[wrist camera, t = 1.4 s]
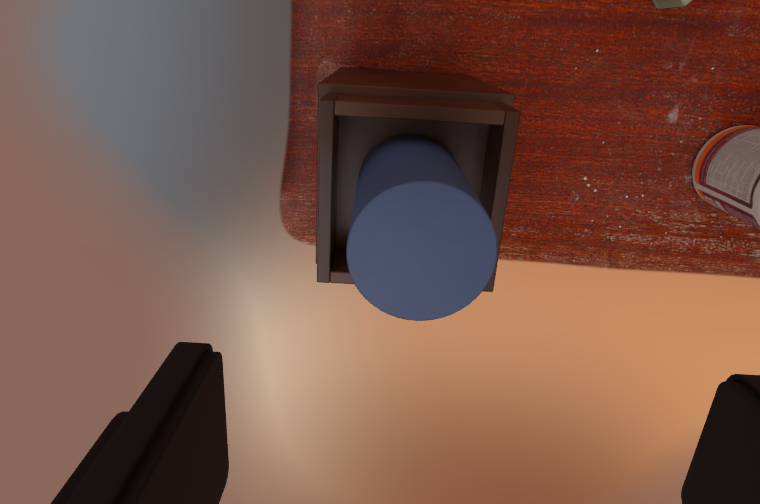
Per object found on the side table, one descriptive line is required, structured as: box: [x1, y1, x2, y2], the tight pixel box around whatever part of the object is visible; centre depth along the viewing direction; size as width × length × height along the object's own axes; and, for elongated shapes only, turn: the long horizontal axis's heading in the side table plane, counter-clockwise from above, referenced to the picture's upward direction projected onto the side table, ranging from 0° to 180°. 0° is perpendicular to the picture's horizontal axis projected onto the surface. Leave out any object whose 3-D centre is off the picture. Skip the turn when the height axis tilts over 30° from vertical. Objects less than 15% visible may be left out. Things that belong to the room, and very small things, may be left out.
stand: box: [316, 67, 520, 292], centre depth 31 cm, size 9×9×17 cm
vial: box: [346, 133, 498, 321], centre depth 22 cm, size 5×5×9 cm
